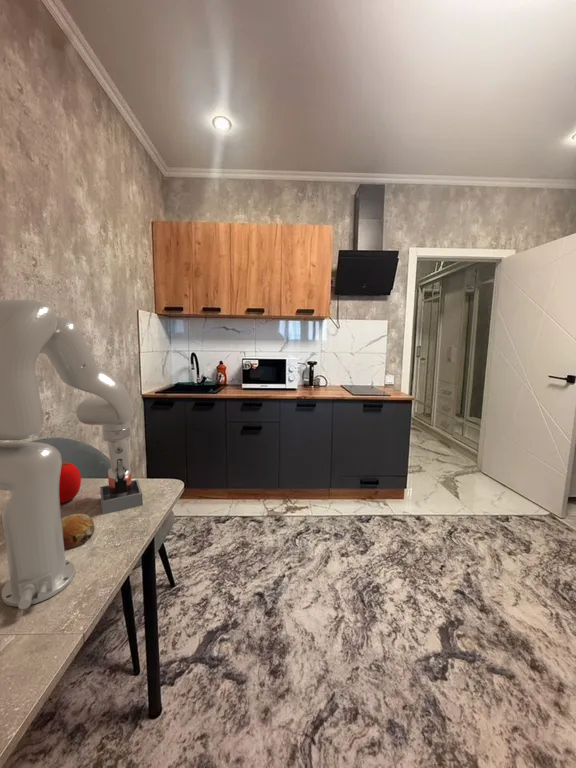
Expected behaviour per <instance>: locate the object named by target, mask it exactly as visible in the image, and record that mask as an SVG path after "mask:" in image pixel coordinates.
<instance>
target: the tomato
mask: <svg viewBox="0 0 576 768" xmlns="http://www.w3.org/2000/svg"><path fill="white" fill-rule="evenodd" d="M81 483H82V475H81V471H80V470H79V469H78V467H77V466H76V465H75V464H73V463H72V462H62V466H61V473H60V481H59V499H60V504H63V503H66V502H69V501H72V499H74V498H75V497H76V496H77V494H78V493H79V491H80V489H81Z"/></svg>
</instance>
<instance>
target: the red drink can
mask: <svg viewBox="0 0 576 768" xmlns="http://www.w3.org/2000/svg"><path fill="white" fill-rule="evenodd" d="M116 471H118V469H116ZM107 475H108V476H107V482H108V485H109V494H110V499H114V498H119V497H123V496H128V495H132V481H133V480H132V469H131V465H130V470H125V477H126V481H127V492H123V493H118V494H116V493H115V481H116V480H115V473H113V472H112V467H109V468H108V470H107ZM117 476H118V473H117Z"/></svg>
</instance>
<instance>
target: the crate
mask: <svg viewBox="0 0 576 768" xmlns="http://www.w3.org/2000/svg"><path fill="white" fill-rule="evenodd" d="M99 488H100V501H101V503H100V505H101V513H102V515H106V514H110V513H115V512H119V511H123V510H128V509H133V508H136V506H137V507H140V506H143V505H144V504H143V503H144V501H143V491H142V488H141V486H140V482H139V479H133V480H132V495H128V496H123V497H119V498H114V499H110V494H109V484H107V485H102V486H100V487H99ZM132 507H133V508H132Z"/></svg>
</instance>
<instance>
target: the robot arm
mask: <svg viewBox="0 0 576 768" xmlns="http://www.w3.org/2000/svg"><path fill="white" fill-rule="evenodd" d="M40 354H44V355H46V357H47V358H48V359H49V362H50V363H51V365H52V366H53V368H54V369H55V371H56V374H57V375H58V376H59V378H60V381H62V382H63V383H64V384H66V385H68V386H70V387H71V388H74V389H77V390H80V391H84V392H86V393H90V394H91V395H92V394H93V395H95V396H98V397H92V398H87V399H84V400H83V401H81V402H80V403H79V404H78V406H77V407H76V410H75V411H76V412H75V414H76V415H75V416H76V419H77V420H78V421H79V422H80V423H82V424H84V425H88V426H89V425H90V426H102V437H103V441H104V442H107V445H108V453H109V454H108V455H109V456H108V457H109V463H110V466H111V467H112V472H113V473H115V480H116V481H115V493H116V494H118V493H123V492H127V481H126V477H125V470H130V466H131V465H130V457H129V456H130V454H129V442H128V440H129V439H130V438H131V426H130V425H131V423H130V422H132V419H133V417H134V411H135V408H134V405H133V404H134V403H133V402H132V399H131V395H130V394H129V392H128V390H127V388H126V386H125V385H124V384H122V382H120V381H119V380H118V379H117V378H115V377H114V376H112V375H111V374H110V373H108V372H107V371H105V370H104V369H102V368H101V367H99V366H98V364H97V362H96V361H95V359H94V357H93V354H92V353H91V351H90V348H89V347H88V344H87V342H86V341H85V339H84V336H83V334H82V332H81V330H80V328H79V327H78V325H77V324H76V323H75V322H74V321H73V320H72V319H69V318H67V317H63V316H57V315H56V312H55V310H54V309H53V308H52V307H51V306H50V305H49V304H47V303H44V302H40V301H37V300H29V299H0V491H7V492H10V494H11V495H10V498H9V499H8V500H7V503H6V504H5V506H4V507H3V510H2V513H1V515H2V516H1V517H2V518H1V519H2V520H1V521H2V527H3V534H4V535H3V536H4V542H5V550H6V551H5V552H6V558H7V567H8V574H9V579H8V580H7V582H6V583H5V585H4V586H3V588H2V589H1V599H2V602H3V603H4V604H5V605H7V606H10V607H18V608H19V609H20V610H26V609H28V608H29V607H30V606H31V605H35V604H37V603H41V602H43V601H46V600H48V599H50V598H52V597H53V596H56V595H57V594H59V593H60V592H62V590H64V589H65V588H66V587H67V586H68V585H69V584H70V583H71V582H72V580H73V579H74V577H75V574H76V568H75V565H74V563H73V562H71V560H67V559H66V552H65V549H64V541H63V531H62V521H61V519H62V511H61V503H60V499H59V481H60V473H61V466H62V463H63V460H62V459H63V458H62V455H61V452H60V451H59V449H57V448H56V447H55V446H53V445H51V444H48V443H43V442H40V441H39V442H36V441H20V440H27V439H31V438H33V437H35V436H37V435H38V434H39V433H40V432H41V431H42V429H43V427H44V417H45V416H44V412H43V405H42V401H41V396H40V391H39V386H38V381H37V374H36V363H37V360H38V357H39V356H40ZM18 440H19V441H18ZM111 467H110V468H111ZM116 469H118V471H116ZM117 473H118V476H117Z"/></svg>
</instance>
